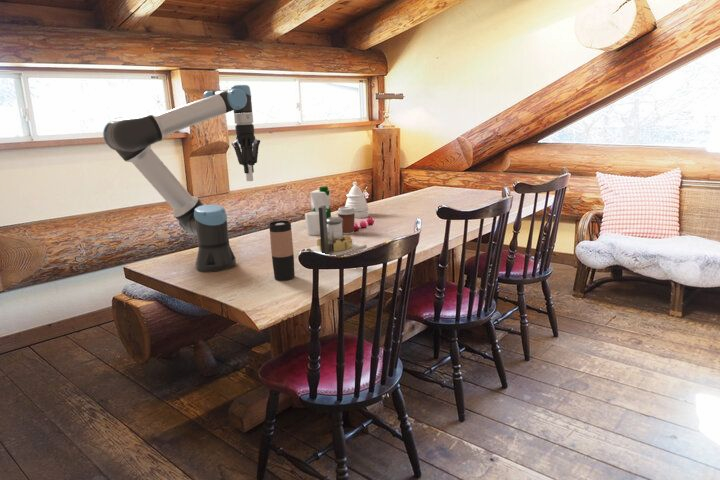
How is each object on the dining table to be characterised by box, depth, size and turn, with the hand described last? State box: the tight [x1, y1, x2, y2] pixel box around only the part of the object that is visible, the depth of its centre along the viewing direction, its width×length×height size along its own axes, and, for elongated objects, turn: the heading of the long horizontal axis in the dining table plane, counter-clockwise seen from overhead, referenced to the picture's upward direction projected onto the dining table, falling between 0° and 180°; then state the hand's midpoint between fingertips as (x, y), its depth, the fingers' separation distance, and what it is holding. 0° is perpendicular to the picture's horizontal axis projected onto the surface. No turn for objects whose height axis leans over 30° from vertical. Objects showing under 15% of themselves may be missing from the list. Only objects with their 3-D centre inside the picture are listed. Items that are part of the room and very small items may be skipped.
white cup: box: [304, 211, 320, 236], centre depth 251 cm, size 8×8×10 cm
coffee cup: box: [335, 206, 356, 235], centre depth 250 cm, size 9×9×12 cm
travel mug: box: [268, 220, 296, 282], centre depth 186 cm, size 8×8×20 cm
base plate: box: [305, 241, 367, 256], centre depth 223 cm, size 21×17×1 cm
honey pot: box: [344, 181, 369, 219], centre depth 287 cm, size 13×13×18 cm
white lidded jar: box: [327, 216, 344, 243], centre depth 222 cm, size 8×8×13 cm
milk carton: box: [309, 186, 332, 218], centre depth 265 cm, size 9×9×20 cm
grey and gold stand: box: [316, 206, 353, 255], centre depth 216 cm, size 22×16×20 cm
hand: (249, 180), depth 225 cm, fingers closed
